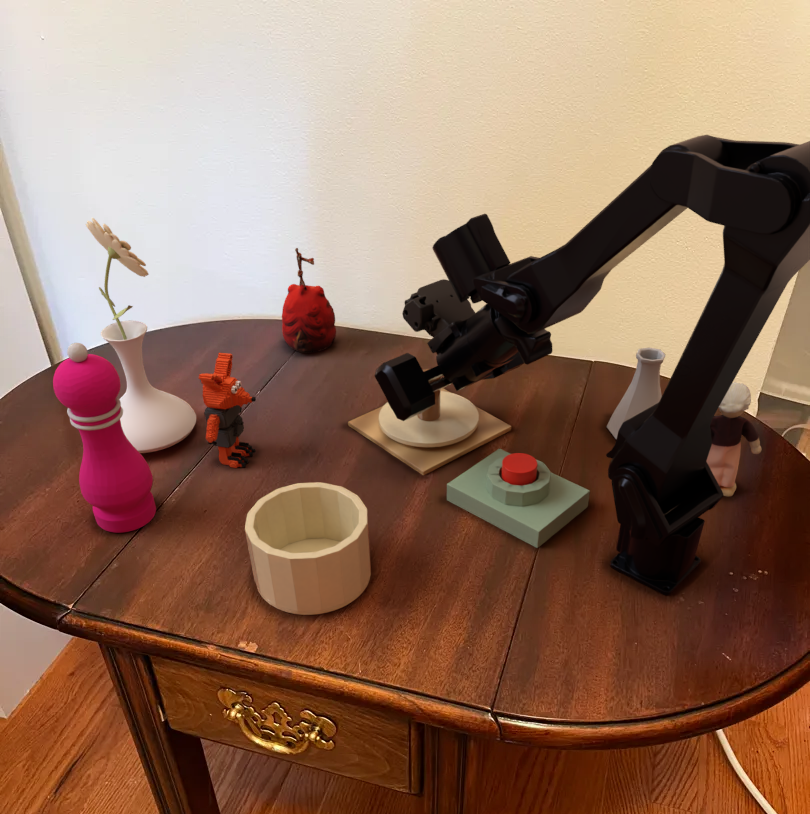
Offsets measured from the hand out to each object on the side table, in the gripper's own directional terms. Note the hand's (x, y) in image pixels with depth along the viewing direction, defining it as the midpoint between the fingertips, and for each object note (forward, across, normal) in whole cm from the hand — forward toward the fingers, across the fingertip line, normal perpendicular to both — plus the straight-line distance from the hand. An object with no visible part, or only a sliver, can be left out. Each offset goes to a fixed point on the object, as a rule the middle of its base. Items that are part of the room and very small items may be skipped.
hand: (420, 391), depth 99 cm
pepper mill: (+8, +35, -2) cm, 36 cm away
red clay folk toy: (+22, -2, -15) cm, 26 cm away
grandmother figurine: (-19, -15, +25) cm, 35 cm away
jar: (-6, +26, +13) cm, 29 cm away
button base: (-10, +3, +16) cm, 20 cm away
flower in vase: (+18, +26, -11) cm, 33 cm away
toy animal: (+9, +20, -2) cm, 22 cm away
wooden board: (+2, 0, +4) cm, 5 cm away
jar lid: (+1, 0, +3) cm, 4 cm away
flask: (-10, -18, +16) cm, 26 cm away
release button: (-13, +3, +14) cm, 19 cm away
